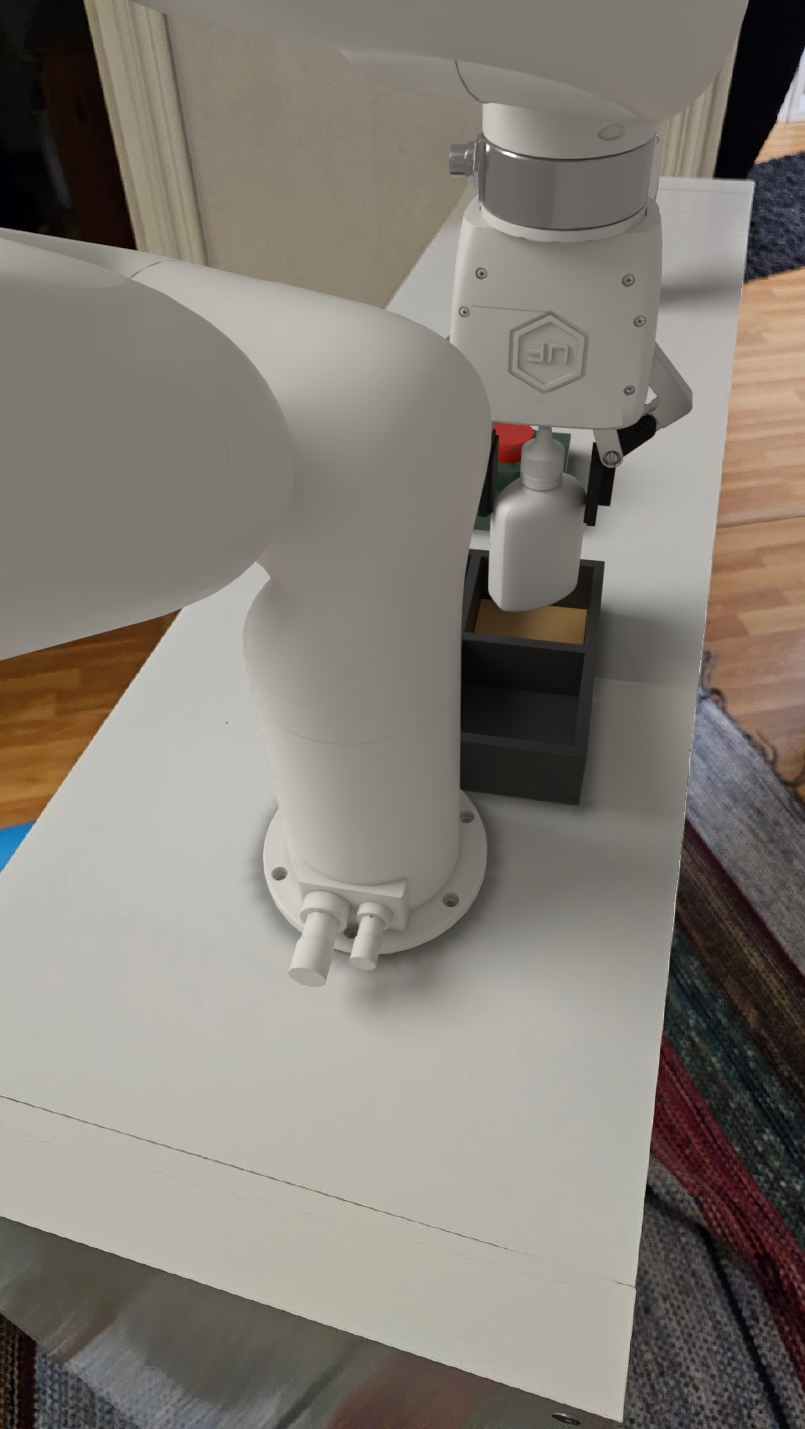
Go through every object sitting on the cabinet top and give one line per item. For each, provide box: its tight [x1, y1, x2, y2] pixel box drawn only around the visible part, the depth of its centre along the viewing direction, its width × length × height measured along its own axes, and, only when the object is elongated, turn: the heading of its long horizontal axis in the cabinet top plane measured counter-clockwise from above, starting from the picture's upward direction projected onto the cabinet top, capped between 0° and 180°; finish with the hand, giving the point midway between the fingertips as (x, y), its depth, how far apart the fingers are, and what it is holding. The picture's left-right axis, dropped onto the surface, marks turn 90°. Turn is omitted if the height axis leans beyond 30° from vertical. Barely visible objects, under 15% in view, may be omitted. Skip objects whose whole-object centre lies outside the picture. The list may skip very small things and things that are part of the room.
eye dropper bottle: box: [488, 426, 587, 612], centre depth 57 cm, size 4×6×12 cm
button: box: [494, 423, 534, 463], centre depth 74 cm, size 4×4×2 cm
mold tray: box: [460, 548, 606, 806], centre depth 62 cm, size 17×17×5 cm
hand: (539, 505), depth 56 cm, fingers closed on eye dropper bottle, 5 cm apart
